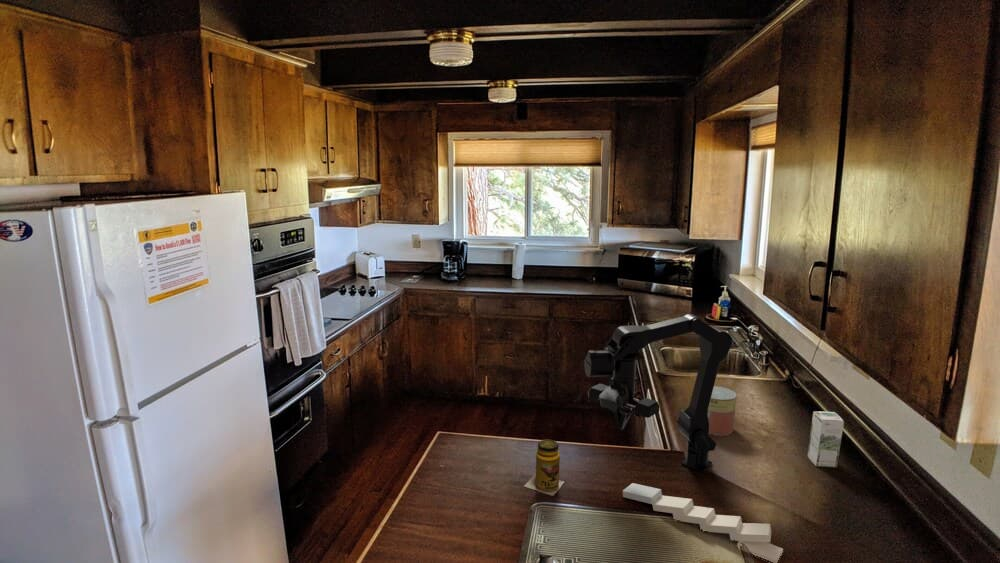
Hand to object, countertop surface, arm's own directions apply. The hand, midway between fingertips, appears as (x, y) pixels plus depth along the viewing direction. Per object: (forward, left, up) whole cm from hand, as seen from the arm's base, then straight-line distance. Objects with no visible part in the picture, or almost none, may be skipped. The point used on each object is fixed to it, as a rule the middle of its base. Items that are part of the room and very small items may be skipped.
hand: (621, 429), depth 151 cm
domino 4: (+8, +27, -11) cm, 30 cm away
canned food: (-44, +8, -12) cm, 46 cm away
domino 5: (+7, +33, -11) cm, 36 cm away
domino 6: (+7, +36, -12) cm, 38 cm away
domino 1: (+8, +7, -11) cm, 16 cm away
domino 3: (+8, +21, -11) cm, 25 cm away
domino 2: (+8, +16, -11) cm, 21 cm away
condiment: (+20, -10, -12) cm, 26 cm away
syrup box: (-44, +39, -12) cm, 60 cm away
